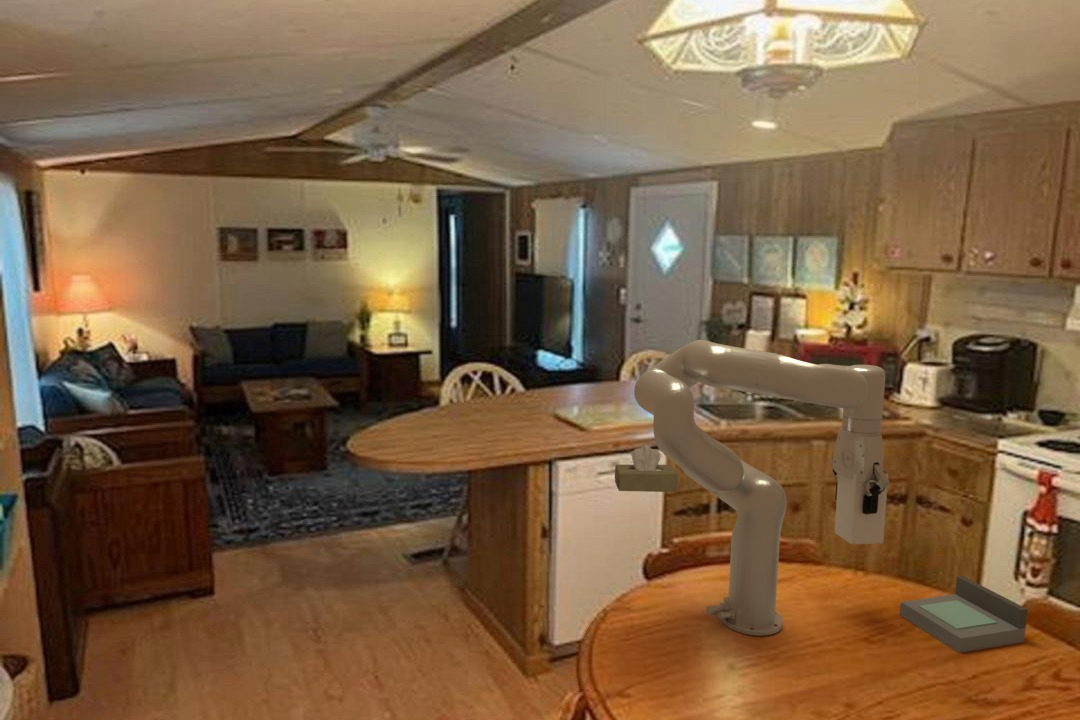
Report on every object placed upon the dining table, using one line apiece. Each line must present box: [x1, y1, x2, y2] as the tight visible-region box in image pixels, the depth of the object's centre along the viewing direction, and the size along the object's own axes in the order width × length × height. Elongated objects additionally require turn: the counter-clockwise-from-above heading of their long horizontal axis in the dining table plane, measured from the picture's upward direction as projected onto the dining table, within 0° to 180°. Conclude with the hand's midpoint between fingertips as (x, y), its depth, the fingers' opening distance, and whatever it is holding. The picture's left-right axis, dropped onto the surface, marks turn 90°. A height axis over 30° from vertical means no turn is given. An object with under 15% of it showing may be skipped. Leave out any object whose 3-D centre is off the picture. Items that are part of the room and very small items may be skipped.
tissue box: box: [614, 444, 679, 493], centre depth 242 cm, size 19×10×16 cm, turn 92°
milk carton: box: [834, 468, 889, 545], centre depth 161 cm, size 7×7×19 cm
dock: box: [899, 575, 1028, 654], centre depth 158 cm, size 16×16×7 cm
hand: (855, 506), depth 161 cm, fingers closed on milk carton, 7 cm apart
